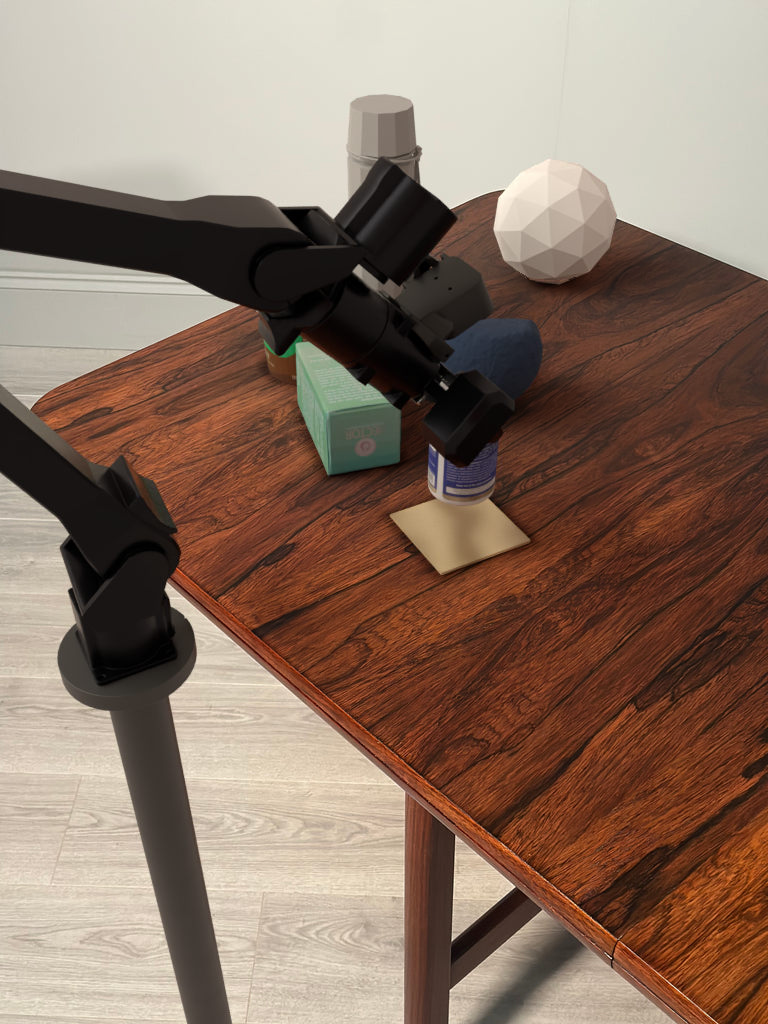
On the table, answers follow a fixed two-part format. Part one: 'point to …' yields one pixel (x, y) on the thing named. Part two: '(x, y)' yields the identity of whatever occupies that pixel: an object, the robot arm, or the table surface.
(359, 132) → the water bottle
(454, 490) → the pill bottle
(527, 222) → the geometric sphere
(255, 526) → the table surface
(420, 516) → the sticky note
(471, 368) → the decorative stone
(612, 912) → the table surface
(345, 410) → the box
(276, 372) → the food container
